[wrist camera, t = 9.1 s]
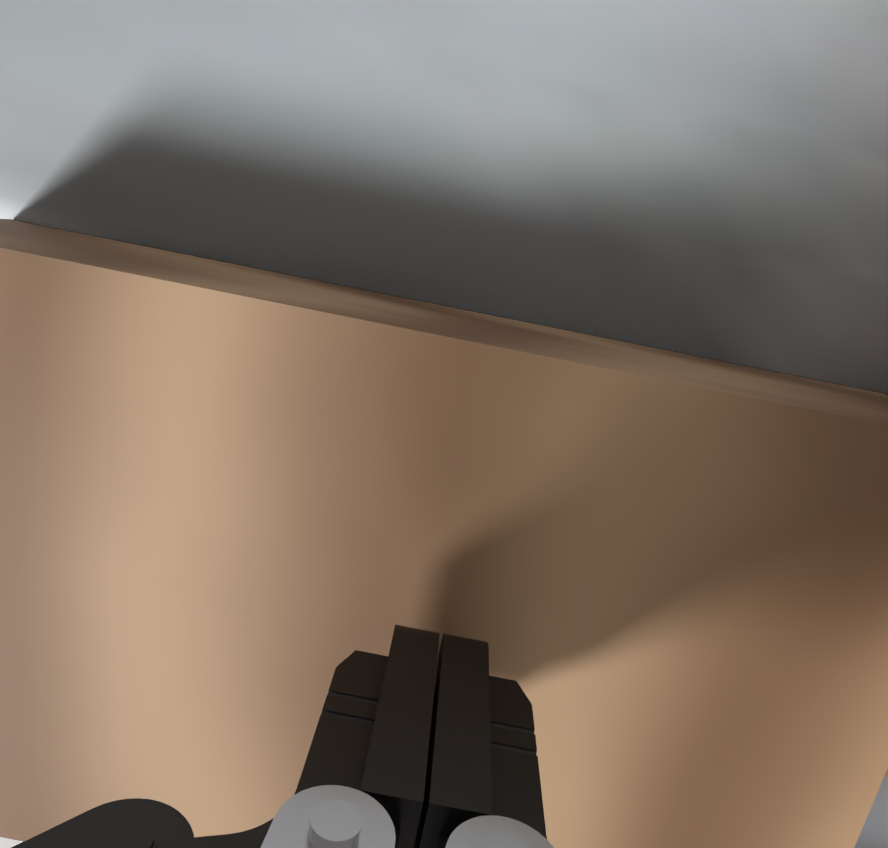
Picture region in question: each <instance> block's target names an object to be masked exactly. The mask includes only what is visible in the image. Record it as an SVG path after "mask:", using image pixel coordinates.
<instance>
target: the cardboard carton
mask: <svg viewBox="0 0 888 848" xmlns="http://www.w3.org/2000/svg"><path fill="white" fill-rule="evenodd" d="M395 624H396V625H401V626H406V627H411V628H417V629H422V630H427V631H432V632H437V633H440V635H439V646H438V652H439V647H440V643H441V639H442V635H443V633H444V634H449V635H454V636H459V637H464V638H470V639H475V640H480V641H485V642H488V645H489V676H494V677H499V678H505V679H510V680H515V681H517V682H518V684H519V685H520V687H521V689H522V690H523V692H524V693H525V695H526V696H527V698H528V699H529V701H530V702H531V704H532V709H533V718H534V727H535V731H534V734H535V736H536V746H537V754H536V756H538V764H539V773H540V782H541V791H542V800H543V809H544V819H545V828H546V837H547V840H548V841H549V842H550V843H551V844H552V846H553V847H554V848H854V847H855V844H856V842H857V840H858V837H859V835H860V833H861V830H862V828H863V826H864V823H865V821H866V818H867V816H868V814H869V811H870V809H871V807H872V804H873V802H874V800H875V797H876V795H877V792H878V790H879V788H880V785H881V783H882V781H883V778H884V776H885V774H886V771H887V769H888V395H885V394H883V393H879V392H874V391H869V390H864V389H859V388H854V387H849V386H844V385H839V384H834V383H829V382H824V381H819V380H814V379H809V378H804V377H799V376H794V375H789V374H784V373H779V372H774V371H769V370H764V369H759V368H754V367H749V366H744V365H739V364H734V363H729V362H723V361H718V360H713V359H708V358H703V357H698V356H693V355H688V354H683V353H678V352H673V351H668V350H663V349H658V348H653V347H648V346H643V345H638V344H633V343H628V342H623V341H618V340H613V339H608V338H603V337H598V336H593V335H588V334H583V333H578V332H573V331H568V330H563V329H558V328H553V327H548V326H543V325H538V324H533V323H528V322H523V321H518V320H513V319H508V318H503V317H498V316H493V315H488V314H483V313H478V312H473V311H468V310H463V309H458V308H453V307H448V306H443V305H438V304H433V303H428V302H422V301H417V300H412V299H407V298H402V297H397V296H392V295H387V294H382V293H377V292H372V291H367V290H362V289H357V288H352V287H347V286H342V285H337V284H332V283H327V282H322V281H317V280H312V279H307V278H302V277H297V276H292V275H287V274H282V273H277V272H272V271H267V270H262V269H257V268H252V267H247V266H242V265H237V264H232V263H227V262H222V261H217V260H212V259H207V258H202V257H197V256H192V255H187V254H182V253H177V252H172V251H167V250H162V249H157V248H152V247H147V246H142V245H137V244H132V243H127V242H121V241H116V240H111V239H106V238H101V237H96V236H91V235H86V234H81V233H76V232H71V231H66V230H61V229H56V228H51V227H46V226H41V225H36V224H31V223H26V222H21V221H16V220H11V219H0V837H4V838H9V839H14V840H19V841H26V840H28V839H30V838H32V837H34V836H37V835H39V834H41V833H43V832H45V831H47V830H49V829H51V828H53V827H55V826H57V825H59V824H61V823H63V822H65V821H67V820H70V819H72V818H74V817H76V816H78V815H80V814H82V813H84V812H86V811H88V810H90V809H92V808H95V807H97V806H100V805H102V804H105V803H108V802H112V801H116V800H122V799H132V798H142V799H151V800H155V801H160V802H162V803H165V804H167V805H170V806H171V807H173V808H175V809H176V810H178V811H179V812H180V813H181V814H182V815H183V816H184V817H185V818H186V819H187V821H188V822H189V824H190V826H191V828H192V831H193V834H194V837H203V836H214V835H224V834H232V833H239V832H243V831H246V830H250V829H253V828H255V827H258V826H260V825H262V824H264V823H266V822H268V821H269V820H271V819H273V818H274V817H275V815H276V813H277V811H278V810H279V808H280V807H281V806H282V805H283V804H284V803H285V802H286V801H287V800H288V799H289V798H291V797H292V796H293V795H294V794H295V791H296V789H297V786H298V783H299V780H300V777H301V774H302V771H303V768H304V764H305V761H306V758H307V755H308V752H309V749H310V746H311V743H312V740H313V737H314V734H315V731H316V727H317V724H318V721H319V718H320V715H321V713H322V709H323V706H324V703H325V700H326V697H327V695H328V691H329V687H330V684H331V681H332V678H333V675H334V672H335V669H336V667H337V666H338V665H339V664H340V663H341V662H343V661H344V660H345V659H346V658H347V657H348V656H349V655H351V654H352V653H353V652H354V651H355V650H358V651H363V652H368V653H373V654H379V655H384V656H389V651H390V647H391V642H392V637H393V632H394V628H395ZM437 657H438V656H437Z"/></svg>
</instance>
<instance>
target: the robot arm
mask: <svg viewBox="0 0 888 848" xmlns="http://www.w3.org/2000/svg"><path fill="white" fill-rule="evenodd" d="M439 635H440V633H437V632H432V631H427V630H422V629H417V628H411V627H406V626H401V625H396V624H395V628H394V632H393V637H392V642H391V647H390V651H389V656H384V655H379V654H373V653H368V652H363V651H358V650H355V651H354V652H353V653H352V654H351V655H349V656H348V657H347V658H346V659H345V660H344V661H343V662H341V663H340V664H339V665H338V666H337V667H336V669H335V672H334V675H333V678H332V681H331V684H330V687H329V691H328V695H327V697H326V700H325V703H324V706H323V709H322V713H321V715H320V718H319V721H318V724H317V727H316V731H315V734H314V737H313V740H312V743H311V746H310V749H309V752H308V755H307V758H306V761H305V764H304V768H303V771H302V774H301V777H300V780H299V783H298V786H297V789H296V791H295V794H294V795H293V796H292V797H291V798H289V799H288V800H287V801H286V802H285V803H284V804H283V805H282V806H281V807H280V808H279V810H278V811H277V813H276V815H275V817H274V818H273V819H271V820H269V821H268V822H266V823H264V824H262V825H260V826H258V827H255V828H253V829H250V830H246V831H243V832H239V833H232V834H224V835H214V836H203V837H194V834H193V831H192V828H191V826H190V824H189V822H188V821H187V819H186V818H185V817H184V816H183V815H182V814H181V813H180V812H179V811H178V810H176V809H175V808H173V807H171V806H170V805H167V804H165V803H162V802H160V801H155V800H151V799H142V798H132V799H122V800H116V801H112V802H108V803H105V804H102V805H100V806H97V807H95V808H92V809H90V810H88V811H86V812H84V813H82V814H80V815H78V816H76V817H74V818H72V819H70V820H67V821H65V822H63V823H61V824H59V825H57V826H55V827H53V828H51V829H49V830H47V831H45V832H43V833H41V834H39V835H37V836H34V837H32V838H30V839H28V840H26V841H24V842H22V843H20V844H18V845H16V846H14V847H12V848H554V847H553V846H552V844H551V843H550V842H549V841H548V840H547V837H546V828H545V819H544V809H543V800H542V791H541V782H540V773H539V764H538V756H536V754H537V746H536V736H535V734H534V731H535V727H534V718H533V709H532V704H531V702H530V701H529V699H528V698H527V696H526V695H525V693H524V692H523V690H522V689H521V687H520V685H519V684H518V682H517V681H515V680H510V679H505V678H499V677H494V676H489V645H488V642H485V641H480V640H475V639H470V638H464V637H459V636H454V635H449V634H444V633H443V635H442V639H441V643H440V647H439V652H438V646H439ZM437 656H438V657H437Z"/></svg>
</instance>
